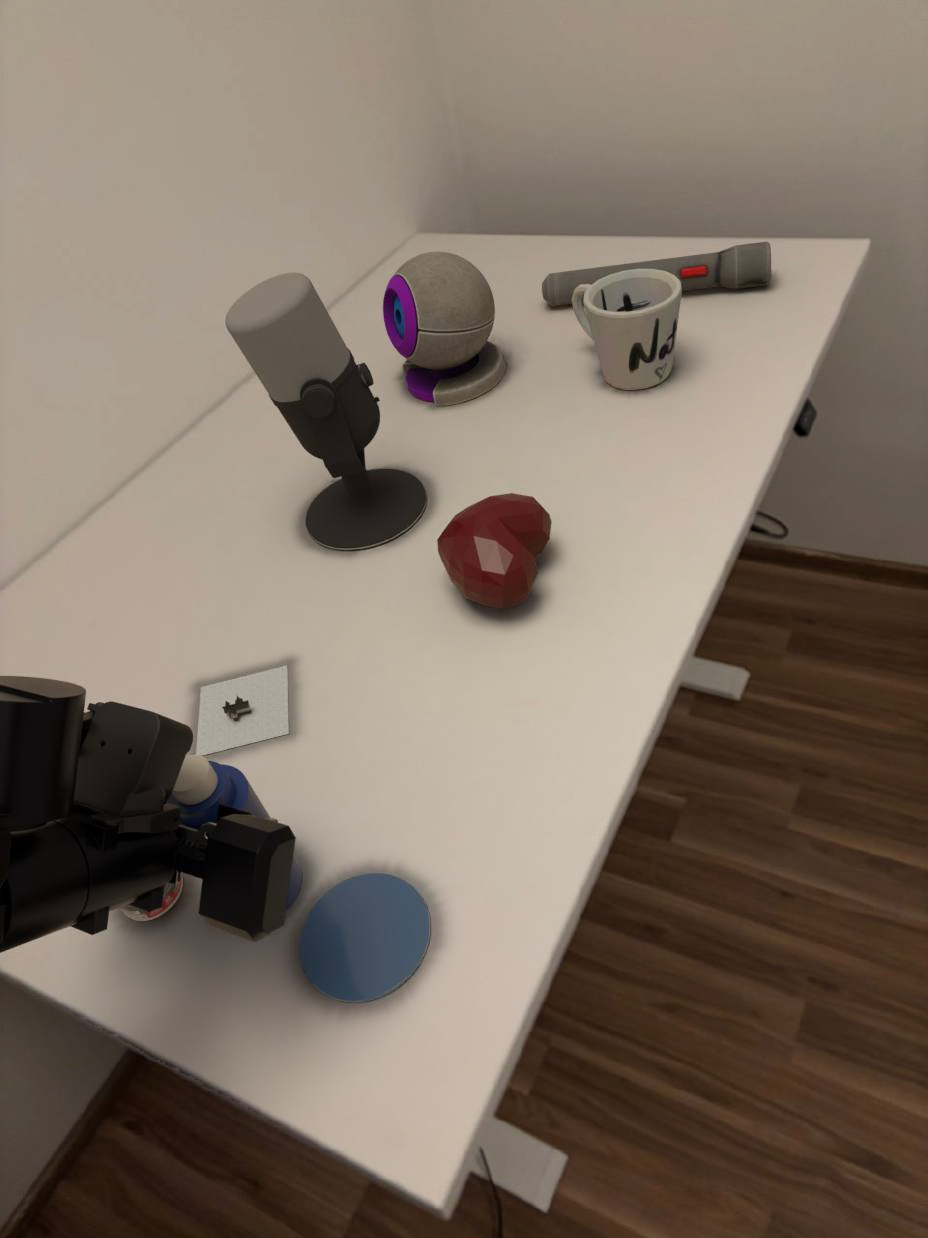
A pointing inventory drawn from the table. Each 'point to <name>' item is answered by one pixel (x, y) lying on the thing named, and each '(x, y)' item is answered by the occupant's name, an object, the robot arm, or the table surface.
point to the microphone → (325, 411)
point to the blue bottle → (219, 800)
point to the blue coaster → (365, 937)
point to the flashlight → (677, 272)
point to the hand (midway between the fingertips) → (240, 815)
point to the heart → (495, 548)
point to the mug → (632, 324)
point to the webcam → (443, 328)
